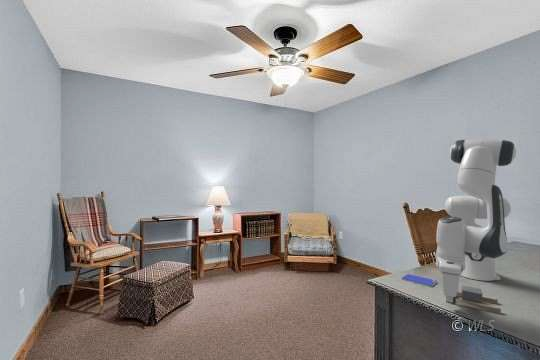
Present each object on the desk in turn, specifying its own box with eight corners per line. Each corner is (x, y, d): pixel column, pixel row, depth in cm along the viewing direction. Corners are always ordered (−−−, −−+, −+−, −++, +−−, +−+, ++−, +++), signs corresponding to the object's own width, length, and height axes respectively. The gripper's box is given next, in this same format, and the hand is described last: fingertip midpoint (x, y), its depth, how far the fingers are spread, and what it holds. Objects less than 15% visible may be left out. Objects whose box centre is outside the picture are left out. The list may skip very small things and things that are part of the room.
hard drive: (437, 280, 125) (408, 273, 134) (431, 284, 120) (401, 277, 128) (437, 283, 125) (408, 276, 134) (431, 288, 120) (401, 280, 128)
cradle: (444, 289, 117) (444, 279, 117) (496, 299, 107) (496, 288, 107) (442, 301, 105) (442, 290, 105) (500, 313, 96) (501, 301, 96)
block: (461, 298, 109) (461, 285, 109) (480, 302, 106) (481, 288, 106) (462, 303, 104) (462, 290, 104) (482, 307, 101) (482, 294, 101)
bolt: (447, 289, 117) (447, 282, 117) (452, 291, 116) (452, 283, 116) (446, 301, 105) (446, 293, 105) (452, 303, 104) (452, 295, 104)
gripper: (441, 255, 110) (440, 289, 110) (438, 267, 93) (438, 308, 93) (460, 257, 107) (460, 293, 106) (461, 271, 90) (461, 314, 89)
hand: (450, 300), depth 99 cm, fingers closed
